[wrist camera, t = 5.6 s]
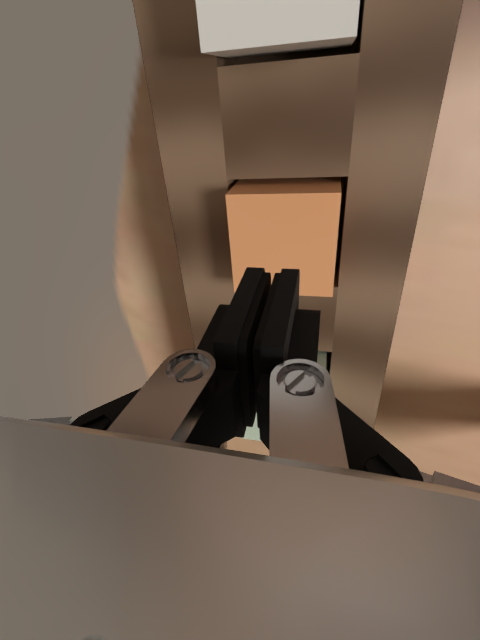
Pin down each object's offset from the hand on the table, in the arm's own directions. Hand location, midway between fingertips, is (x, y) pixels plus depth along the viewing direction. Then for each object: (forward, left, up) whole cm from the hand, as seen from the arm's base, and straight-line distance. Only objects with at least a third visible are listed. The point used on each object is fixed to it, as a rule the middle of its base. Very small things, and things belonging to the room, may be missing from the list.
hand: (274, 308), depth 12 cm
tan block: (0, 0, -10) cm, 10 cm away
